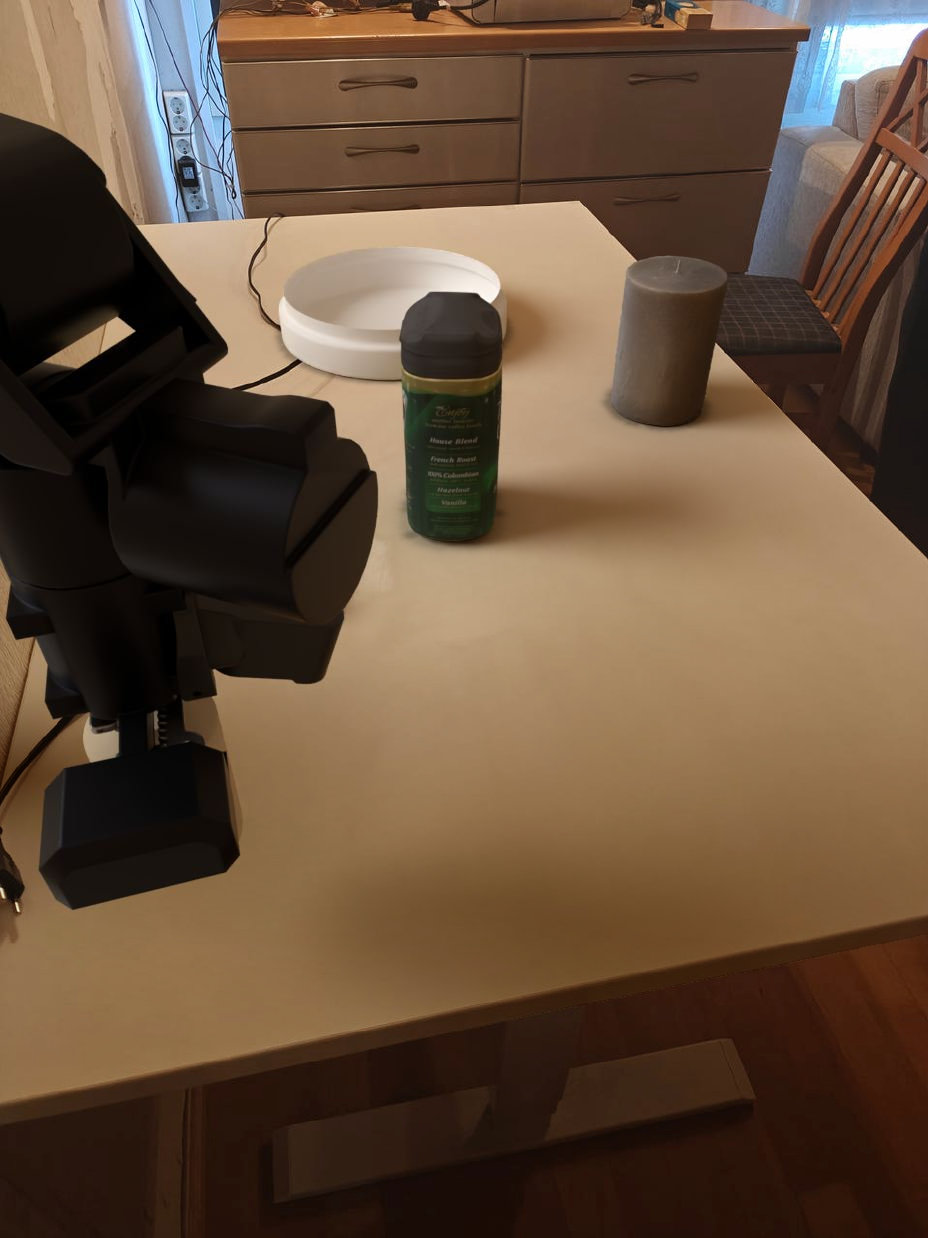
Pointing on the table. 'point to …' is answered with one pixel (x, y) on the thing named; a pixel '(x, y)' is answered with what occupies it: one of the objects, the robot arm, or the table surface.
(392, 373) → the round white dish
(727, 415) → the table surface
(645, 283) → the pillar candle
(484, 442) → the coffee jar
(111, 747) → the candle
